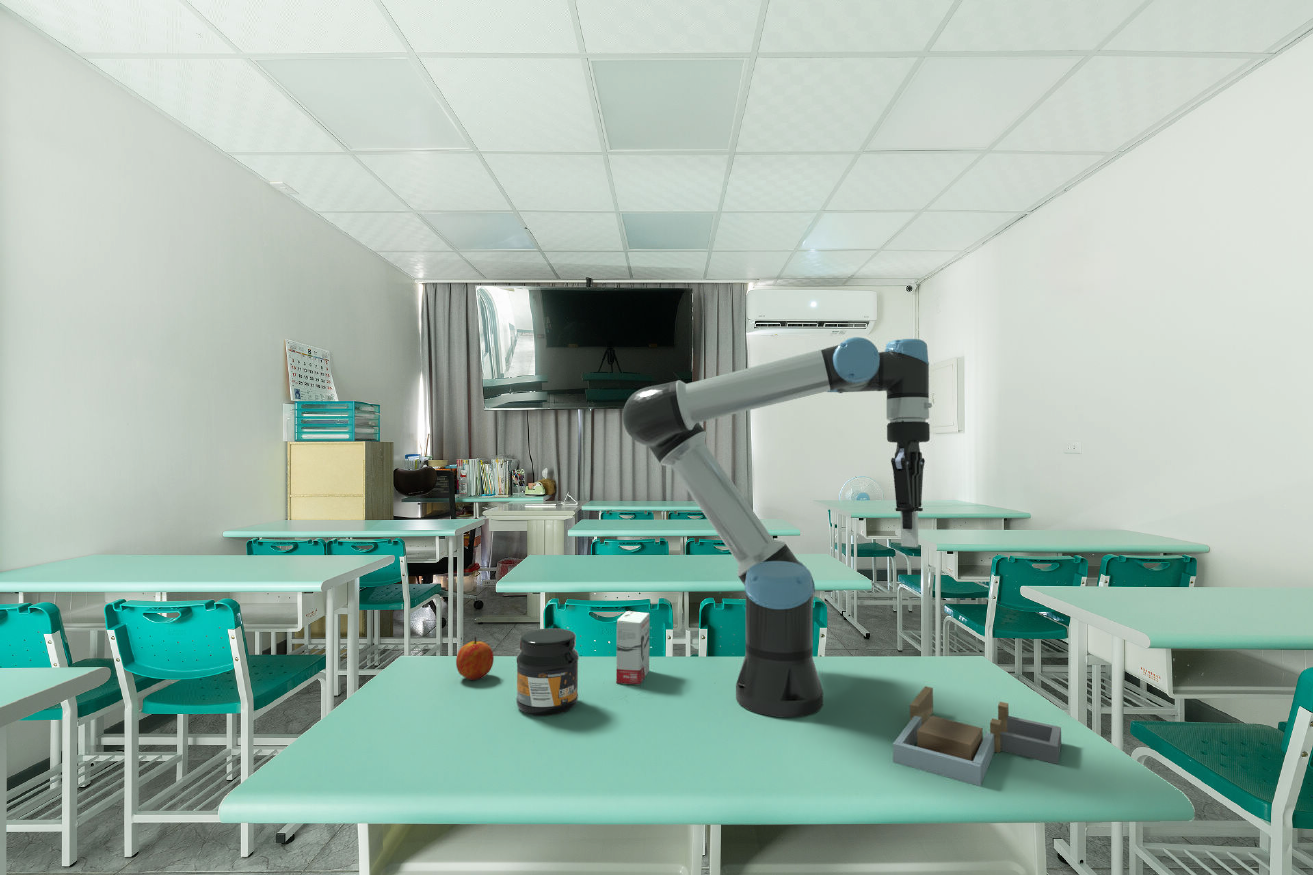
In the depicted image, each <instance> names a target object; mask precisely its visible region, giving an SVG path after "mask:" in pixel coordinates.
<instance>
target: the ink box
mask: <svg viewBox="0 0 1313 875" xmlns="http://www.w3.org/2000/svg"><path fill="white" fill-rule="evenodd" d="M616 621H617V622H616V667H615V668H616V670H615V672H616V678H615V679H616V680H615V681H616V684H624V685H625V684H626V685H627V684H629V685H639V686H640V685H641V683H642V682H643V681H644V679H645V678H646V677H647V674H648V673H649V671H650V613H649V612H639V611H631V610H628V611H627V610H626V611H625V612H624V613H623V614H622V615H620V616H619V617H618V619H616Z"/></svg>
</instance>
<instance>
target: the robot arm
mask: <svg viewBox="0 0 1313 875" xmlns="http://www.w3.org/2000/svg"><path fill="white" fill-rule="evenodd" d="M928 351H929V350H928V345H927V343H926V342H925V341H924V340H922V339H918V338H903V339H894V340H891V341H888V342H887V343H886V346H885V349H884V351H880V352H879V350H878V348H877V347H876V345H875V344H874V343H873V342H872V341H871V340H869V339H867V338H865V337H860V336H857V337H856V336H855V337H850V338H849V337H848V338H847V339H845V340H844V341H842V342H840V344H837V345H833V346H830V347H826V348H822V349H818V350H814V351H811V352H807V353H803V354H798V355H794V356H792V357H790V356H789V357H787V358H784V359H783V358H782V359H779V360H775V361H772V362H767V363H764V364H763V363H762V364H760V365H756V366H752V367H748V368H747V367H746V368H744V369H741V370H736V371H731V372H728V373H724V374H721V375H716V376H713V377H712V376H711V377H708V378H704V379H700V380H697V381H692V382H688V383H685V381H682V380H681V379H679V380H676V381H670V382H667V383H662V384H656V385H651V386H646V387H643V388H640V389H639V390H637V391H635V392H634V393H632V394H631V395H630V396H629V397H628V398H627V401H625V402H626V403H625V405H624V407H623V410H622V421H623V426H624V429H625V430H626V432H627V433H628V435H629V437H631V439H632V440H634V441H635V442H636V443H639V444H641V445H644V446H647V447H648V448H649V450H650V451H651V452H652V454H653V456H654V457H655V458H656V460H657V461H658V463H659V464H660V465H661V466H665V467H669V468H671V469H672V470H673V472H674V473H675V474H676V476H677V478H678V479H679V480H680V482H681V484H683V486H684V487H685V489H686V490H687V492H688V493H689V495H690V496H691V497H692V499H693V500H694V502H695V503H696V505H697V506H698V507H699V509H700V511H701V512H702V513H703V515H704V516H705V518H706V519H707V520H708V522H709V524H710V525H711V526H712V528H713V530H714V531H715V532H716V533H717V535H718V536H719V538H720V539H721V540H722V542H723V544H724V545H725V546H726V548H727V549H728V551H729V552H730V553H731V555H732V557H733V558H734V559H735V561H736V562H737V565H738V568H737V573H736V575H737V577H738V578H739V580H740V581H741V583H742V584H743V586H744V591H745V655H744V659H743V662H742V665H741V667H740V671H739V673H738V674H739V675H738V677H737V680H736V683H735V700H736V702H737V703H738V704H739V706H741V707H744V709H747V710H749V711H751V712H754V713H756V714H760V715H765V716H770V717H771V716H772V717H779V718H780V717H781V718H797V717H805V716H809V715H812V714H816V713H817V712H819V711H821V710H822V708H824V691H823V690H824V689H823V687H822V683H821V680H820V676H819V674H818V671H817V668H816V664H815V662H814V656H813V655H814V652H813V649H814V648H813V643H814V642H813V640H814V639H813V637H814V636H813V635H814V634H813V633H814V630H813V628H814V626H813V609H814V599H815V593H816V588H815V581H814V578H813V576H812V573H811V571H810V569H808V568H807V566H806V565H804V564H803V562H801V561H800V560H798V558H796V556H795V554H794V553H793V551H792V550H791V549H790V547H788V545H787V544H786V542H785V541H781V540H776V539H774V538H773V537H772V535H771V534H770V532H769V531H768V530H767V528H766V527H765V526H764V524H763V522H761V520H760V519H759V517H758V516H757V513H755V511H754V510H753V509H752V508H751V505H749V503H748V502H747V500H746V499H745V497H744V496H743V495H742V494H741V492H740V491H739V489H738V488H737V486H736V485H735V484H734V482H733V481H732V479H731V478H730V476H729V475H728V474H727V472H726V471H725V470H724V467H722V466H721V464H720V462H719V461H718V459H717V458H716V457H715V455H714V454H713V453H712V451H711V450H710V449H709V447H708V446H707V445H706V439H707V438H706V437H707V432H706V430H705V429H704V428H703V425H702V424H700V423H703V422H707V421H710V420H714V419H715V420H716V419H719V418H724V417H728V416H732V415H735V414H741V413H742V412H743V413H744V412H748V411H751V410H755V409H761V408H764V407H768V406H772V405H776V404H780V403H784V402H788V401H793V400H797V399H801V398H805V397H809V396H815V395H817V394H822V393H838V394H843V393H860V392H863V393H864V392H886V420H887V421H889V422H888V423H887V424H886V440H887V442H889V443H895V444H896V450H895V451H894V457H891V459H890V463H891V467H892V471H893V473H892V475H893V484H894V494H895V504H896V506H895V507H896V508H895V512H900V547H908V548H909V547H910V548H918V547H919V514H918V513H919V512H924V511H923V507H922V505H923V504H922V503H923V502H922V497H923V479H924V467H925V463H926V460H925V458H924V457H923V453H922V452H921V449H920V443H927V442H929V441H930V439H931V438H930V434H931V433H930V429H931V428H930V423H929V422H928V421H926V420H928V419H929V418H930V409H931V408H932V407H933V404H932V402H930V401H929V399H930V394H929V393H930V392H929V390H930V387H929V386H930V379H929V378H930V374H929V372H930V371H929V369H930V361H929V352H928Z"/></svg>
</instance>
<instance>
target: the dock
mask: <svg viewBox="0 0 1313 875" xmlns="http://www.w3.org/2000/svg"><path fill="white" fill-rule="evenodd" d="M921 726H922V723H921V717H918V716H914V717H913V718H912V720H911V721H910V720H909V722H908V723H907V725H906V726H905V727H904V728H903V730H902V731H901V732H900V734H899V735H898V736H897V738H895V741H894V742H892V762H893V763H895V764H899V765H900V764H901V765H904V766H907V767H911V768H915V769H917V770H922V771H925V772H928V773H932V774H936V775H939V776H943V777H945V778H946V777H947V778H949V779H953V780H957V781H961V782H965V783H968V784H971V785H975V786H978V787H981V786H982V783H983V781H984V778H985V776H986V774H987V772H988V768H989V765H990V763H991V761H992V758H993V755H994V753H995V752H994V734H991V733H990V732H987V731H986V732H985V734H984V736H983V741H982V743H981V745H980V747H979V749H978V752H977V754H976V756H975V758H974V760H973V761H969V760H966V759H962V758H958V757H954V756H950V755H946V754H943V753H939V752H935V751H931V750H927V749H923V748H920V747H917V746H915V744H916V742H917V730H918V729H919V728H920V727H921Z"/></svg>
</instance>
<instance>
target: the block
mask: <svg viewBox="0 0 1313 875" xmlns="http://www.w3.org/2000/svg"><path fill="white" fill-rule="evenodd" d="M983 734H984V733H983V727H980V726H975V725H971V724H967V723H964V722H959V721H954V720H951V719H947V718H943V717H940V716H935V715H930V717H929V718H928V720H927V721H926V722H925V723H924V724H923V725H922V726H921V727H920V728H919V729H918V730H917V741H916V742H917V744H916V745H917V746H916V747H920V748H923V749H927V750H931V751H935V752H939V753H943V754H946V755H950V756H954V757H958V758H962V759H966V760H969V761H973V760H974V758H975V756H976V754H977V752H978V749H979V747H980V745H981V743H982V741H983V739H984V736H983Z"/></svg>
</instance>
